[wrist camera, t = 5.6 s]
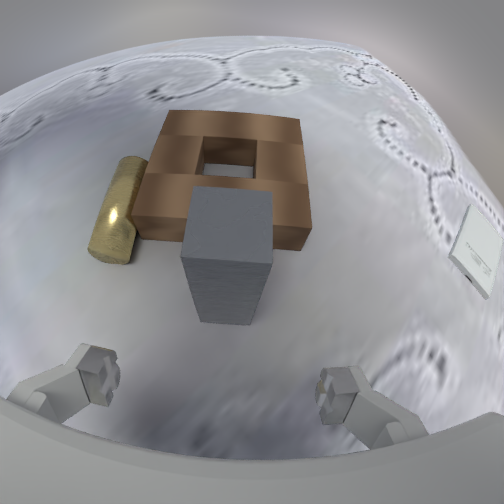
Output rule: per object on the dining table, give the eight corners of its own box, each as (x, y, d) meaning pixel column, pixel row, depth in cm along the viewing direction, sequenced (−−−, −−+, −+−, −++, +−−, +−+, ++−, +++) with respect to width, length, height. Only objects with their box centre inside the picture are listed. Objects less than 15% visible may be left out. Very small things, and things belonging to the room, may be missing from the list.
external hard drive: (497, 244, 31) (482, 301, 27) (465, 208, 34) (445, 259, 29) (504, 239, 30) (491, 297, 25) (471, 202, 32) (453, 253, 27)
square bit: (200, 321, 23) (180, 256, 12) (204, 277, 25) (193, 185, 14) (249, 325, 23) (272, 263, 13) (251, 280, 25) (272, 191, 14)
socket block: (141, 239, 26) (130, 215, 22) (172, 135, 33) (169, 110, 29) (300, 250, 27) (312, 228, 23) (292, 143, 34) (299, 119, 30)
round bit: (113, 267, 25) (138, 260, 23) (80, 249, 22) (102, 239, 20) (136, 186, 30) (161, 173, 28) (111, 166, 27) (134, 150, 25)
